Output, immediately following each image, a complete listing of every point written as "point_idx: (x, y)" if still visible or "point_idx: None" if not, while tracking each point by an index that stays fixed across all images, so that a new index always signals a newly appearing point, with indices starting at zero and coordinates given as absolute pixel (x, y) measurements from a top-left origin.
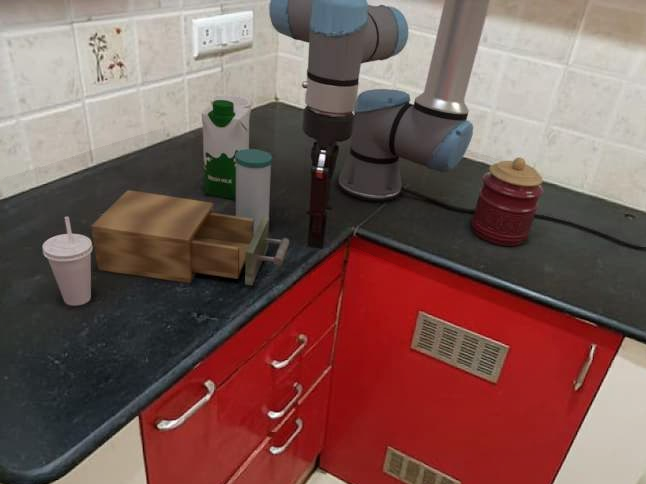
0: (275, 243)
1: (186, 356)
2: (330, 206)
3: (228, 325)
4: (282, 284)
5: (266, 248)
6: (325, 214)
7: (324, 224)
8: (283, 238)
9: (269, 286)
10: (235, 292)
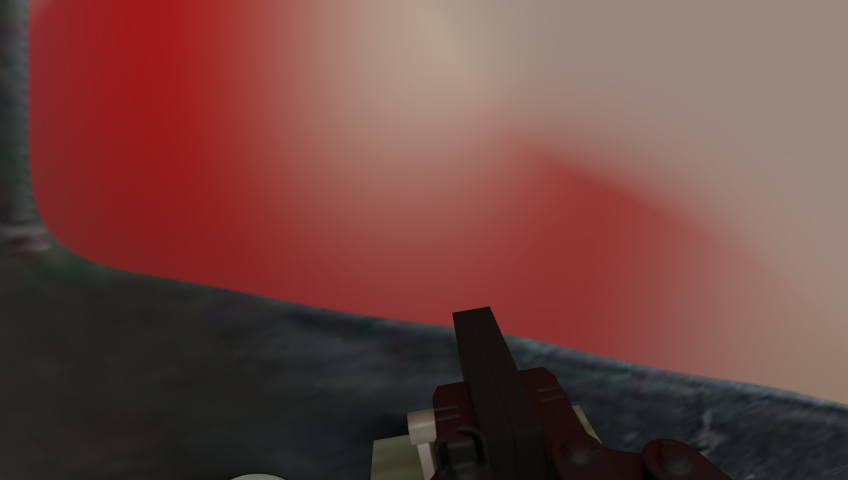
0: (430, 448)
1: (840, 410)
2: (465, 453)
3: (725, 383)
4: (517, 338)
5: (397, 445)
6: (686, 456)
7: (522, 387)
8: (414, 444)
9: (539, 364)
10: (593, 421)
